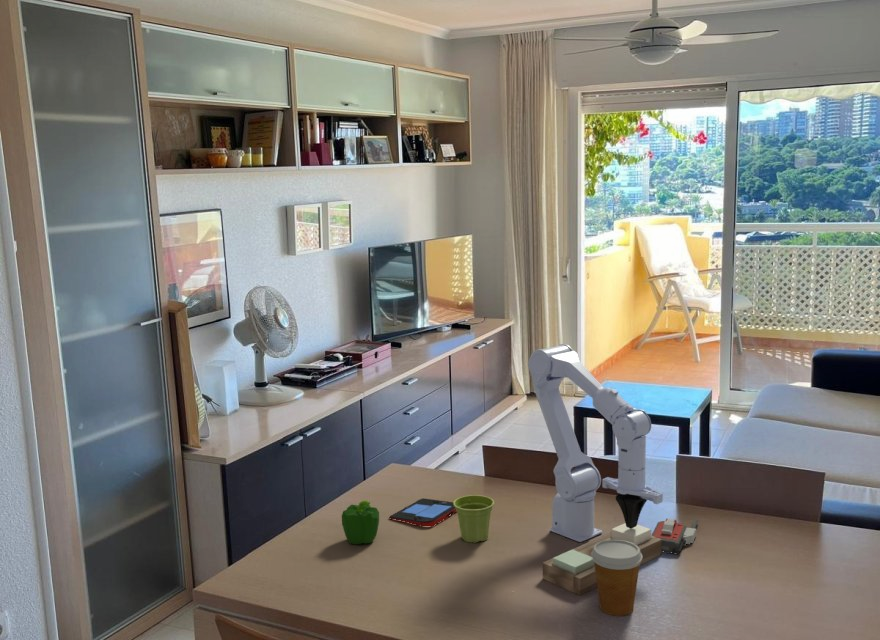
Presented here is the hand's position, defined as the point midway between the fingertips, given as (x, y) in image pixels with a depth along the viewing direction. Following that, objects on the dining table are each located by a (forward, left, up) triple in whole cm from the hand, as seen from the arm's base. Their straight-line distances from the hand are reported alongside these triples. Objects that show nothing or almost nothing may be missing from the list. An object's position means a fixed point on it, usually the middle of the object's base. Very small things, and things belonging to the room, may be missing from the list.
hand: (631, 526), depth 187 cm
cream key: (0, 0, -4) cm, 4 cm away
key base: (0, -10, -6) cm, 11 cm away
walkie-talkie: (+2, +14, -7) cm, 15 cm away
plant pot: (-30, -19, -6) cm, 36 cm away
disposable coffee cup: (+13, -22, -6) cm, 26 cm away
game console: (-49, -18, -7) cm, 53 cm away
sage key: (0, -19, -4) cm, 19 cm away
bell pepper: (-47, -39, -6) cm, 61 cm away
